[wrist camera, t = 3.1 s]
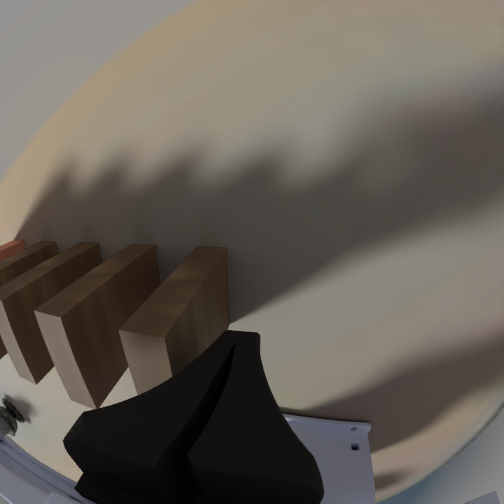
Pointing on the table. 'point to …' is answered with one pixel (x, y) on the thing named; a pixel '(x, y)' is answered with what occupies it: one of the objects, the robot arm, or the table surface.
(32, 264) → the tile
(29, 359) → the tile
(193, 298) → the tile
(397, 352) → the table surface
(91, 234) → the table surface
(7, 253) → the tile
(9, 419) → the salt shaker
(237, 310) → the table surface
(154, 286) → the tile
